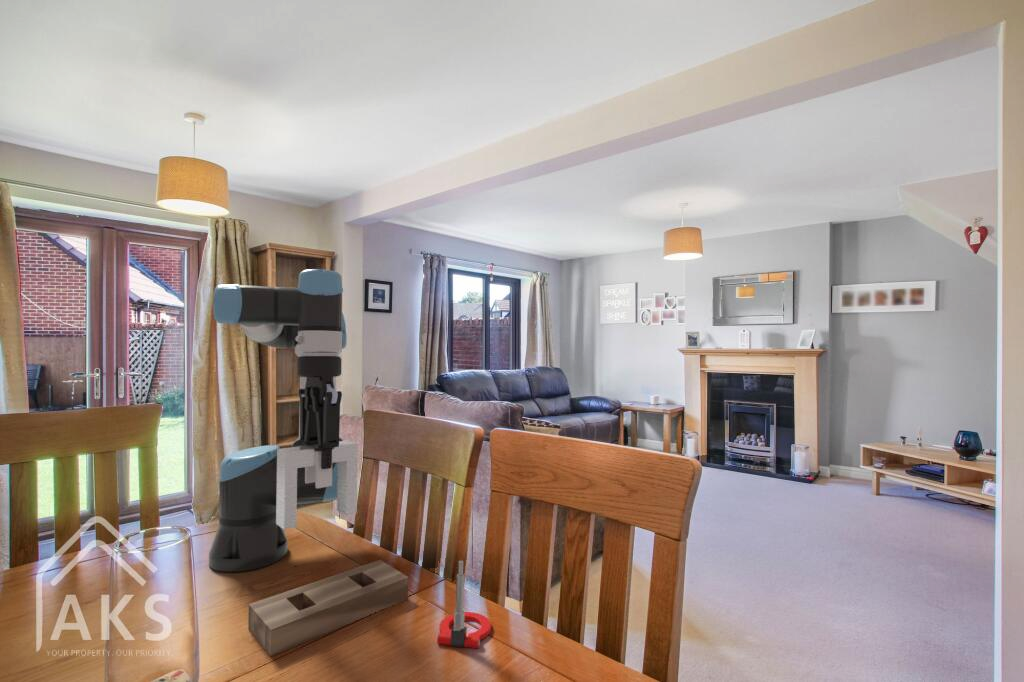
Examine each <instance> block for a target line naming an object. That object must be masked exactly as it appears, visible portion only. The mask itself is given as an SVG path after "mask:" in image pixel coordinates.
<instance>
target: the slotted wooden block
mask: <svg viewBox="0 0 1024 682" xmlns="http://www.w3.org/2000/svg"><path fill="white" fill-rule="evenodd" d="M406 599H407V600H409V576H407V575H406V574H404V573H403V572H401V571H399V570H397V569H396V568H394V567H392V566H391V565H390V564H388V563H386V562H384V561H383V560H381V559H379V560H376V561H373V562H370V563H367V564H363V565H362V566H361V565H360V566H358V567H355V568H352V569H349V570H346V571H343V572H341V573H338V574H334V575H331V576H329V577H326V578H323V579H320V580H319V579H318V580H317V581H314V582H313V581H312V582H310V583H308V584H303V585H301V586H299V587H296V588H292V589H291V590H290V589H289V590H287V591H284V592H282V593H278V594H275V595H272V596H269V597H267V598H263V599H260V600H257V601H254V602H250V603H248V624H247V625H248V627H247V628H248V630H249V632H250V633H251V635H253V637H254V638H255V639H256V641H257V642H258V643H259V644H260V646H261V647H262V648H263V649H264V650H265V652H266V653H267V655H268V656H269V657H273V656H276V655H277V654H280V653H283V652H284V651H287V650H290V649H292V648H294V647H297V646H299V645H302V644H304V643H306V642H309V641H311V640H313V639H317V638H319V637H321V636H323V635H326V634H328V633H330V632H332V631H335V630H337V629H339V628H343V627H344V626H348V625H350V624H352V623H354V622H356V620H357V621H359V620H361V618H362V619H364V618H367V617H369V616H371V615H373V614H376V613H378V612H380V610H381V611H383V610H385V609H388V608H389V607H393V606H395V605H397V604H400V603H402V602H404V601H406ZM401 601H402V602H401ZM399 602H400V603H399ZM392 605H393V606H392ZM382 609H383V610H382ZM375 612H376V613H375ZM370 614H371V615H370Z"/></svg>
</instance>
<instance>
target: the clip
mask: <svg viewBox="0 0 1024 682" xmlns="http://www.w3.org/2000/svg"><path fill="white" fill-rule="evenodd" d="M314 448H318V444H314V445H306V446H298V447H292V446H291V447H282V448H280V449H277V494H276V524H277V525H278V526H280V527H281V528H282V529H284V531H285V530H289V529H293V528H294V529H295V528H297V521H298V520H297V515H298V514H297V513H298V512H297V508H298V507H297V506H298V504H297V468H302V467H308V466H315V465H316V452H315V450H314ZM334 462H338V465H337V500H336V511H338V512H339V513H341V514H343V515H346V516H349V515H355V514H357V513H358V510H357V509H358V507H357V506H358V502H357V500H358V442H355V441H351V440H348V439H347V440H343V441H339V446H338V447H335V448H334V449H332V463H334Z"/></svg>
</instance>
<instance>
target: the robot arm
mask: <svg viewBox="0 0 1024 682" xmlns="http://www.w3.org/2000/svg"><path fill="white" fill-rule="evenodd" d="M343 292H344V287H343V279H342V275H341V274H340V273H339V272H337V271H335V270H330V269H319V268H312V269H311V268H310V269H309V268H308V269H304V270H302V271H301V272H300V273H299V274H298V284H297V287H293V286H292V287H291V286H290V287H289V286H263V285H247V284H246V285H245V284H238V283H233V284H218V285H216V287H215V288H214V290H213V294H212V313H213V317H214V320H215V321H216V322H217V323H219V324H224V325H227V324H228V325H231V326H233V325H240V326H241V330H242V332H243V333H244V335H245V336H246V337H247V338H248V339H250V340H251V341H254V342H255V343H259V344H261V345H264V346H267V347H272V348H276V349H294V354H295V355H296V357H298V358H297V362H296V364H297V366H296V367H297V368H296V369H297V370H296V373H297V376H298V377H299V389H298V396H299V410H298V411H299V413H298V415H299V417H298V420H299V421H298V438H296V440H294V441H293V442H292V444H291V447H298V446H306V445H314V444H318V448H314V450H315V452H316V465H315V466H308V467H302V468H297V505H305V504H307V505H308V504H315V503H326V502H331V501H337V465H338V462H334V463H332V449H334V448H335V447H338V446H339V441H344V439H343V438H342V437H340V423H341V422H340V420H341V402H342V397H343V393H342V391H340V390H339V391H337V377H340V376H341V375H342V358H341V356H340V354H341V353H342V352H343V350H344V349H345V348H346V346H347V337H348V336H347V331H346V329H347V328H346V327H347V326H346V320H345V316H344V313H343ZM277 449H281V447H280V446H279V445H275V444H273V445H267V444H266V445H260V446H254V447H248V448H244V449H242V450H237V451H234V452H232V453H230V454H228V455H227V456H225V457H224V458H223V459H222V461H221V462H220V465H219V477H218V483H219V491H218V492H219V495H218V496H219V497H218V498H219V500H218V501H219V508H218V516H219V517H218V518H219V519H218V528H217V530H216V532H215V536H214V539H213V541H212V543H211V547H210V550H209V553H208V566H209V568H211V569H212V570H215V571H217V572H223V573H237V572H246V571H252V570H257V569H261V568H264V567H267V566H269V565H272V564H274V563H276V562H279V561H280V560H281V559H283V558H284V557H285V556H286V555H287V553H288V549H289V548H288V543H289V542H288V538H287V535H286V533H285V530H284V529H282V528H281V527H280V526H278V525H277V524H276V494H277Z"/></svg>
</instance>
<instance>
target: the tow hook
mask: <svg viewBox="0 0 1024 682" xmlns="http://www.w3.org/2000/svg"><path fill="white" fill-rule="evenodd" d="M457 564H458V565H457V567H458V568H457V574H456V582H455V583H456V585H455V589H456V590H455V610H454V613H452V614H450V615H447V616H445V617H444V618H443V619H442V620H441V621H440V623H439V633H438V635H437V639H436V640H437V641H436V642H437V643H436V644H438V645H445V646H451V647H455V648H456V647H457V648H473V649H479V648H480V645H481V641H482V640H483V639H485V638H486V637H488V635H489V634H491V630H492V622H491V621H490V619H489V617H487V616H485V615H483V614H481V613H478V612H474V611H473V612H472V611H465V610H464V600H465V599H464V597H465V596H464V595H465V593H464V592H465V574H464V561H463V560H459V561H458V563H457ZM465 621H469V622H470V621H471V622H474V623H477V624H479V626H481V627H480V628H479V629H478V630H476V631H473V632H469V633H468V634H467V629H468V627H467V626H465ZM452 624H453V626H452V628H450V626H451V625H452Z"/></svg>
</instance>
